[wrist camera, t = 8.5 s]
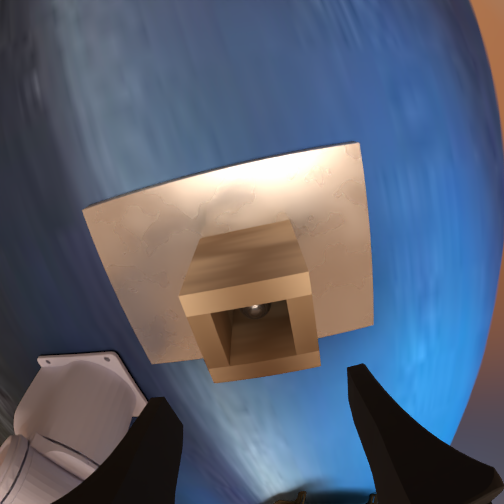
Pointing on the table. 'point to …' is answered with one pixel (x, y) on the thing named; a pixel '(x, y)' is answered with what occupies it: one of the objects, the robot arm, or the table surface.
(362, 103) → the table surface
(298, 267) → the hollow square block
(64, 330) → the table surface
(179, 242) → the base plate
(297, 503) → the bench grinder
